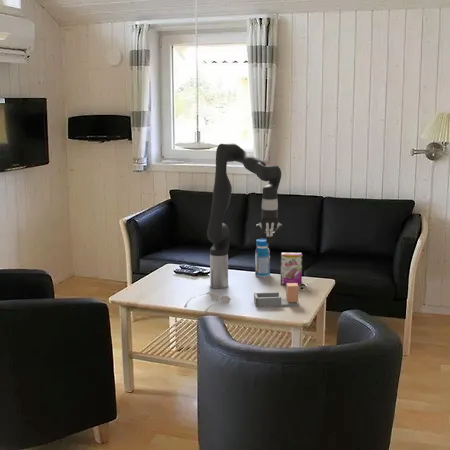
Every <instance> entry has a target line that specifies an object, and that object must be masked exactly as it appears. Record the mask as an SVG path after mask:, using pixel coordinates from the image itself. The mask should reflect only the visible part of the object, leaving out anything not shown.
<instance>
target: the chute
mask: <svg viewBox="0 0 450 450" xmlns="http://www.w3.org/2000/svg"><path fill="white" fill-rule="evenodd" d="M253 303H254V305H255V308H257V309H259V308H279V307H281V308H283V307H299V302H287V300H286V298H282V296H280V292H279V291H270V292H269V291H268V292H267V291H265V292H264V291H263V292H254V293H253Z"/></svg>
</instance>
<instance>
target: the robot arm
mask: <svg viewBox="0 0 450 450" xmlns="http://www.w3.org/2000/svg"><path fill="white" fill-rule="evenodd" d="M229 162H230V163H231V162H232V163H233V162H237V163H239V164H240V163H241V164H242V165H243V167H244V168H245V170H247V171H248V172H251V173H252V174H254V175H255V176H256V177H257V178H258V179H260V180H261V181H262V182H268V184H267V185H264V186H263V187H262V196H261V197H262V200H261V220H260V221H259V223H257V224H256V225H255V226H256V228H257V229H258V230H259V231H260V233H261V234H262V235H263V236H265V239H266V242H267V243H268V244H269V245H271V244H272V243H273V237H274V236H277V234H278V233H279V232H280V231H281V230H282V228H283V224H282V223H280V222H279V219H278V215H279V213H278V212H279V209H278V208H279V203H278V189H279V187H280V184H281V179H282V170H281V168H280V167H279V165H276V164H275V165H266V163H265V161H263V160H261V159H259V158H257V157H255V156H253V155H251V154H249V153H248V152H247V151H246V150H245V149H243V148H242V147H240V146H239V145H237V143H233V142H226V143H225V142H222V143H219V144H218V145H217V147H216V152H215V173H214V183H213V184H214V185H213V190H212V202H211V210H210V216H209V220H208V227H207V230H206V235H207V239H208V240H209V241H210V242H211V243H213V244H212V245H211V247H210V250H209V260H210V261H209V264H210V265H209V266H210V267H209V270H210V271H209V276H210V279H209V281H210V282H209V283H210V288H212V289H213V288H214V289H224V288H228V287H229V256H228V255H229V249H230V238H231V237H230V228H229V227H228V225H227V224H226V223H224V216H225V214H226V213H227V210H228V207H229V206H230V202H231V200H232V199H231V198H232V191H233V189H232V184H231V181H230V179H229V176H228V174H227V173H228V172H227V165H228V163H229ZM263 228H264V229H265V231H264V230H263Z"/></svg>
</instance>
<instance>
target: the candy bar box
mask: <svg viewBox="0 0 450 450" xmlns="http://www.w3.org/2000/svg"><path fill="white" fill-rule="evenodd" d="M302 275H303V253H302V252H281V253H280V285H286V283H298V284H301V285H302V283H303V281H302V278H303V277H302Z"/></svg>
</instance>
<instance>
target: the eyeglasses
mask: <svg viewBox="0 0 450 450" xmlns="http://www.w3.org/2000/svg"><path fill="white" fill-rule="evenodd" d="M204 295H205V293H204V294H201V295H199V297H201V296H204ZM206 295H209V297H210V300H214V301H218V300H219V297H220V300H221V301H220V302H218V303H214V304H211V305H210V306H209V307H207V309H205V310H204V311H203V314H206V313H207V311H208V310H209V309H210V308H211V307H213V306H214V305H217V304H220V303H224V304H227V305H228V304H230V303H231V300H232V298H231V297H230V296H229V295H228V296H227V295H219V294H218V293H216V292H213V291H211V292H207V293H206ZM194 298H196V296H194V297H191V298H190V299H189V300H187V302H186V303H185V305H184V306H183V308H186V307H187V305H188V303H189V302H190V301H191V300H192V299H194Z"/></svg>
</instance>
